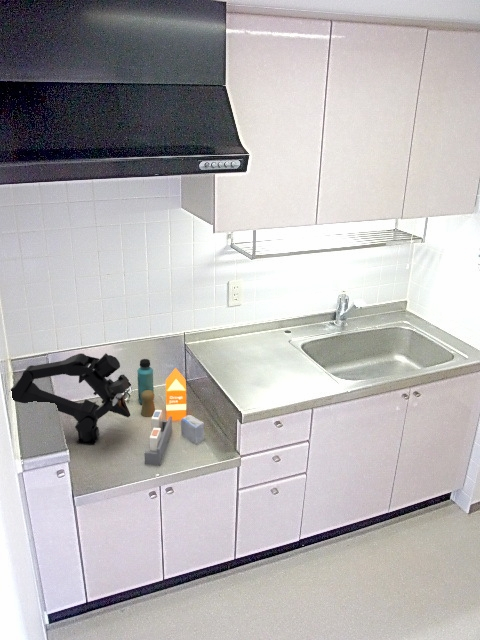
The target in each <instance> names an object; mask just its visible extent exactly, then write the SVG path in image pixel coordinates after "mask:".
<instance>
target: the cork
mask: <svg viewBox="0 0 480 640" xmlns="http://www.w3.org/2000/svg"><path fill="white" fill-rule="evenodd" d="M141 399H142V400H143V401H142V403H141V411H140V414H141V416H142V417H143V418H152V416H153V414H154V412H155V410H156V406H155V401H154V400H155V391H154V392H153V391H151V390H145V391H143V392H142V393H141ZM153 399H154V400H153Z"/></svg>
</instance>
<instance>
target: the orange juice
mask: <svg viewBox="0 0 480 640" xmlns="http://www.w3.org/2000/svg"><path fill="white" fill-rule="evenodd" d="M186 381H187V380H186V378H185V377H184V376H183V375H182V373H181V372H180V371H179V369H177V367H175V368H174V369H173V370H172V372H171V373H169V375H168V376H167V378H166V379H165V396H166V398H165V400H166V401H165V402H166V403H165V404H166V406H165V407H166V409H165V410H166V420H168V418H169V416H172V422H173V421H181V419H182V418H184V417H186V416H187V385H186V384H187V382H186Z"/></svg>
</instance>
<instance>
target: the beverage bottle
mask: <svg viewBox="0 0 480 640" xmlns="http://www.w3.org/2000/svg"><path fill="white" fill-rule="evenodd" d="M139 366H140V367H139V368H138V369H137V397H138V401H139V403H140V404H142V401H143V400H142V399H141V393H142V392H143V391H145V390H151V391H153V392H154V393H155V391H154V389H155V386H154V369H153V367H151V360H150V359H149V358H142V359H140V361H139ZM154 400H155V398H154V399H153V401H154Z"/></svg>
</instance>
